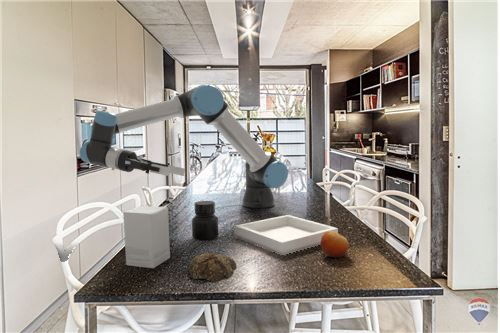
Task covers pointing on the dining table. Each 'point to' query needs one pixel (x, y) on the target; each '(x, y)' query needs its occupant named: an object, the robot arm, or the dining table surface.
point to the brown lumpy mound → (211, 267)
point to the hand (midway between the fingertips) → (177, 172)
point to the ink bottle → (205, 221)
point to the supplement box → (146, 236)
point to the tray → (283, 233)
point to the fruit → (334, 244)
